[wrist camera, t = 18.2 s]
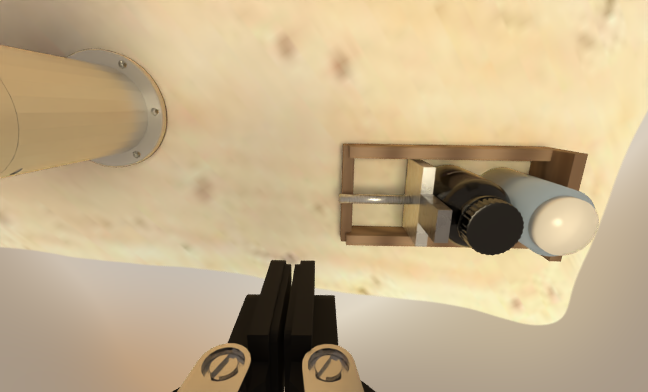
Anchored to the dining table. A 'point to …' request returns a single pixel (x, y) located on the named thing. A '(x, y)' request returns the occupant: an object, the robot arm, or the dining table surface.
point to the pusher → (415, 205)
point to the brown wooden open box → (544, 160)
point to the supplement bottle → (478, 211)
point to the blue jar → (548, 212)
